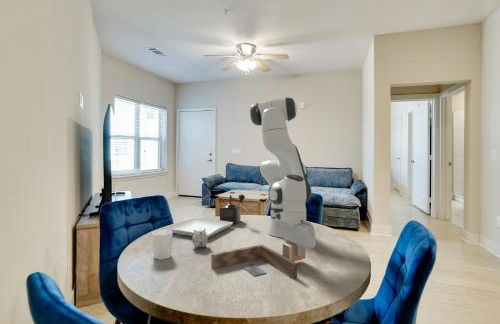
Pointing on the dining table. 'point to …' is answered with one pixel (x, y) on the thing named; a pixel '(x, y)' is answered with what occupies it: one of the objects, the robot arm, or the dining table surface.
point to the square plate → (199, 226)
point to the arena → (253, 254)
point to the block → (292, 251)
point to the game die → (200, 238)
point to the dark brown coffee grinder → (231, 211)
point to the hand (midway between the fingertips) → (294, 252)
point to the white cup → (162, 244)
